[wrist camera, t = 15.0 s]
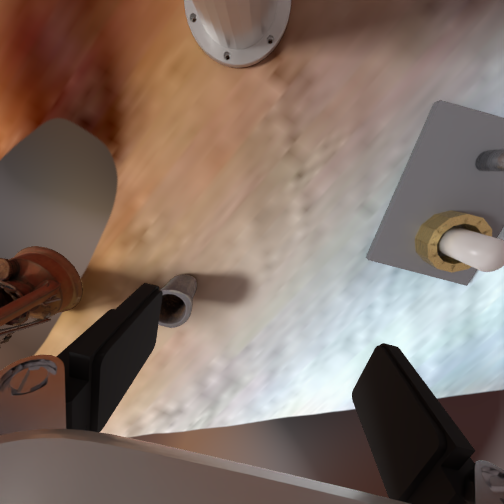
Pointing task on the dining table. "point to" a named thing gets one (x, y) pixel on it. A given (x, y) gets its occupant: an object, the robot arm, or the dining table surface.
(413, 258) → the fitting board
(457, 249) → the white rounded peg
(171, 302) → the grey mug
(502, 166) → the small stub
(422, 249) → the brass socket
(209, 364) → the dining table surface
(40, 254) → the lantern
